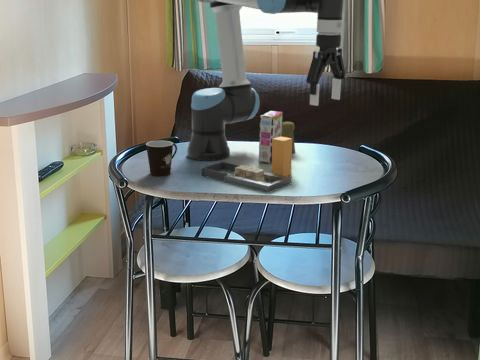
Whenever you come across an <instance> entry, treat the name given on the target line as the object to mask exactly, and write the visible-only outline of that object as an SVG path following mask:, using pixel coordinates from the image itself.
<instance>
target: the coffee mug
mask: <svg viewBox="0 0 480 360" xmlns="http://www.w3.org/2000/svg"><path fill="white" fill-rule="evenodd" d="M145 146H146V153H147V159H148V165H149V166H148V167H149V173H150V175H151V176H152V177H167V176H170V175H171V170H172V160H173V158H174V157H175V156H176V154H177V151H178V146H177V144H176V143H174V142H172V141H170V140H151V141H147V142H146V143H145ZM174 148H175V150H174V151H173V149H174Z"/></svg>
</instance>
